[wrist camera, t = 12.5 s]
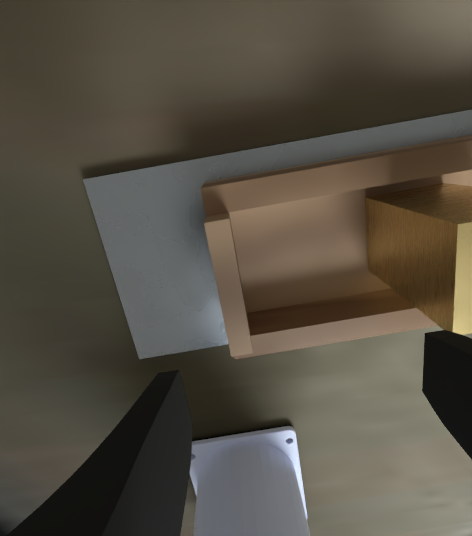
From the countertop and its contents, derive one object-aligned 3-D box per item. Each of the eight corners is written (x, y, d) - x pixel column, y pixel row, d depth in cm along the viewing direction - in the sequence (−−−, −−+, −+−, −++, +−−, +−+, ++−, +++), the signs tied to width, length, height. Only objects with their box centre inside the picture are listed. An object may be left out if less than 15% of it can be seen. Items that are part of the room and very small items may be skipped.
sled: (566, 271, 19) (671, 306, 15) (232, 327, 20) (235, 378, 15) (593, 112, 17) (734, 96, 12) (204, 182, 17) (197, 192, 12)
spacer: (440, 257, 18) (568, 316, 11) (368, 270, 18) (452, 336, 11) (443, 183, 17) (589, 201, 10) (364, 197, 17) (458, 224, 10)
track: (597, 277, 20) (658, 296, 18) (141, 353, 21) (128, 384, 18) (638, 79, 17) (723, 64, 14) (87, 178, 17) (60, 183, 15)
